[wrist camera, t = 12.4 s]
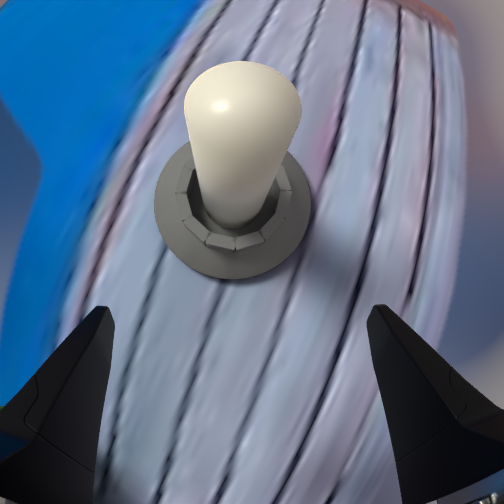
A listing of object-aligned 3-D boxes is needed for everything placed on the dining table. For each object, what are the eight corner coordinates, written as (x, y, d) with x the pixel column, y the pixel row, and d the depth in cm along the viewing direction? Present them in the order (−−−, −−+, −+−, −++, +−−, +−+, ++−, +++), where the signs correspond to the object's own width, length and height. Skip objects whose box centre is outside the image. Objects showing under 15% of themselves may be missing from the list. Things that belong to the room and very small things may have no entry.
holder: (236, 312, 24) (237, 315, 21) (126, 206, 24) (116, 196, 21) (336, 200, 25) (348, 191, 23) (230, 109, 26) (231, 92, 23)
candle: (217, 238, 23) (211, 173, 10) (194, 186, 24) (168, 82, 11) (271, 214, 24) (322, 131, 11) (246, 164, 24) (269, 50, 11)
